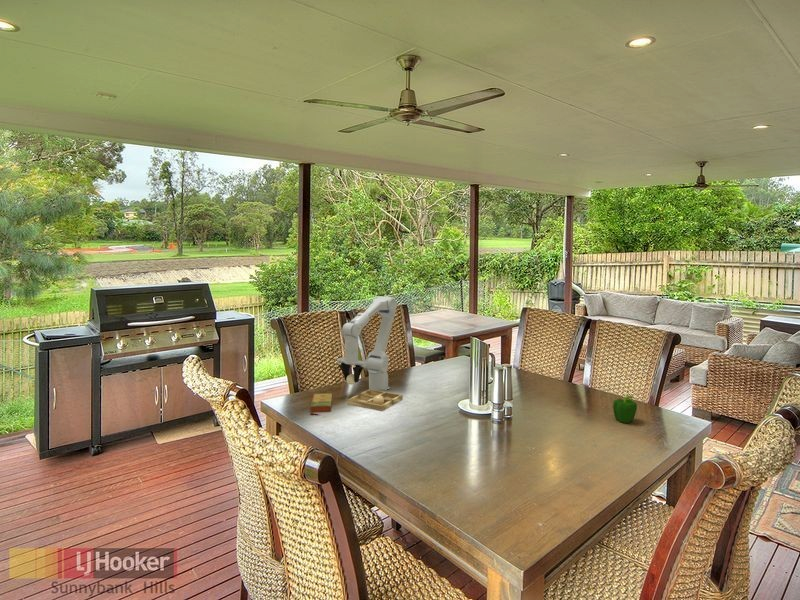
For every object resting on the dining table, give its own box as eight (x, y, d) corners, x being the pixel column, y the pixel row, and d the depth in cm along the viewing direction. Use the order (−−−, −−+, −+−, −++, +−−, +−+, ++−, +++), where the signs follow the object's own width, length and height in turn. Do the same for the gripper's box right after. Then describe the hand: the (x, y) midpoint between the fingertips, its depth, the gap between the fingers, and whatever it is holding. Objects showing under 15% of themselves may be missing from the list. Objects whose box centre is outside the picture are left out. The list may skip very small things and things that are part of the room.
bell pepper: (612, 423, 186) (614, 397, 185) (611, 416, 193) (612, 391, 192) (637, 426, 183) (638, 400, 182) (634, 418, 191) (636, 393, 189)
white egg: (350, 382, 215) (350, 372, 215) (359, 383, 213) (359, 373, 212) (344, 384, 211) (344, 374, 211) (352, 386, 209) (352, 376, 208)
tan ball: (376, 403, 204) (376, 392, 204) (386, 405, 202) (386, 394, 202) (370, 406, 201) (370, 395, 200) (380, 408, 198) (380, 397, 198)
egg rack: (369, 395, 218) (369, 388, 218) (402, 401, 210) (402, 394, 210) (347, 407, 204) (347, 399, 203) (382, 413, 195) (382, 406, 195)
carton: (332, 402, 211) (332, 392, 210) (331, 415, 195) (331, 405, 194) (313, 403, 210) (313, 393, 209) (310, 416, 194) (310, 405, 193)
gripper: (332, 350, 210) (332, 380, 212) (359, 354, 203) (360, 385, 205) (342, 347, 216) (342, 377, 218) (369, 351, 209) (369, 381, 211)
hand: (351, 381), depth 212 cm, fingers closed on white egg, 5 cm apart
